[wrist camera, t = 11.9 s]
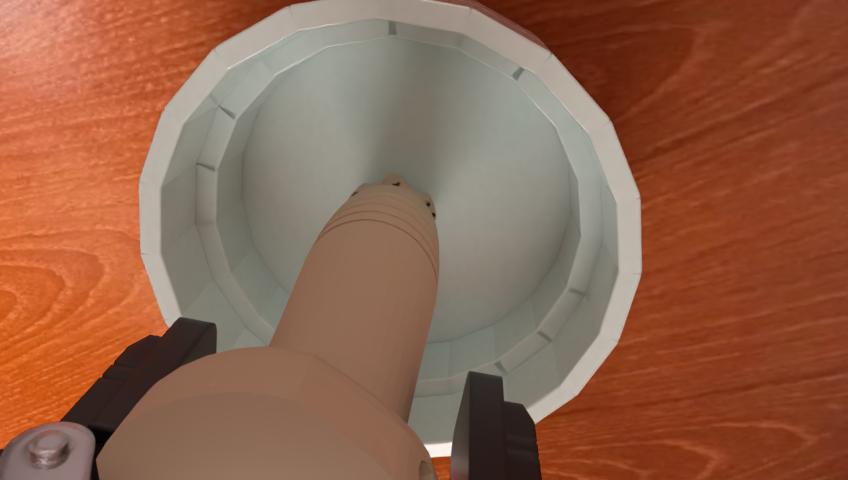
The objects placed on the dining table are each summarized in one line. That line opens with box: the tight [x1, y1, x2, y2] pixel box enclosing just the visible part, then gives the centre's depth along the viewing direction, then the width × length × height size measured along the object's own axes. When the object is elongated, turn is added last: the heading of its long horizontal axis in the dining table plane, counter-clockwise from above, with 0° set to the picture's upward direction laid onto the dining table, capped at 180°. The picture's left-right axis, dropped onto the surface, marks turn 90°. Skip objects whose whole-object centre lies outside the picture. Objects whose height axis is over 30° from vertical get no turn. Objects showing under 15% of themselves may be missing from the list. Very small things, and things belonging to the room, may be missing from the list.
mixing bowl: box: [139, 0, 642, 457], centre depth 22 cm, size 15×15×6 cm
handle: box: [96, 173, 439, 480], centre depth 16 cm, size 5×6×15 cm
